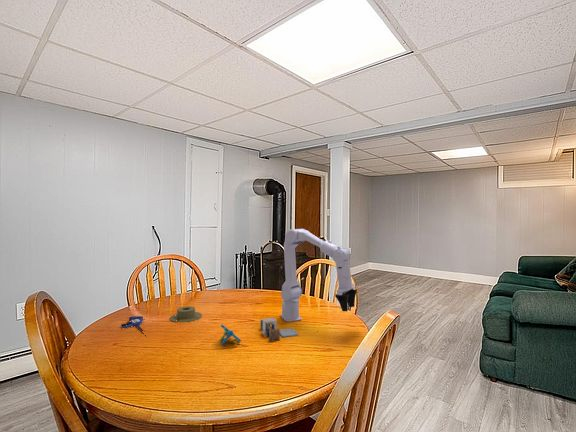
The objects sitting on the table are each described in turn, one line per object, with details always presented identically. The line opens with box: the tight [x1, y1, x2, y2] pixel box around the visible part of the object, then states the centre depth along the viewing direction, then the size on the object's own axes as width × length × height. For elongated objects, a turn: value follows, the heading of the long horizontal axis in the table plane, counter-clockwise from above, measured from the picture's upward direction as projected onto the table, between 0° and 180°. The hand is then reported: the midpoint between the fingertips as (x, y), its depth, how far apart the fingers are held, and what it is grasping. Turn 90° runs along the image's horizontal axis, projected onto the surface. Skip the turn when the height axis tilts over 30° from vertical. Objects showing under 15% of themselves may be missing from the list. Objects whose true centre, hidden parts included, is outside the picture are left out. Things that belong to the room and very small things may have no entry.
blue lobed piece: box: [220, 324, 242, 346], centre depth 119 cm, size 11×6×10 cm
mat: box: [279, 327, 299, 339], centre depth 129 cm, size 7×7×1 cm
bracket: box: [262, 317, 278, 338], centre depth 128 cm, size 4×5×6 cm
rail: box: [259, 319, 281, 342], centre depth 128 cm, size 14×4×4 cm, turn 21°
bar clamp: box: [120, 315, 144, 332], centre depth 131 cm, size 32×2×10 cm
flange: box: [169, 305, 203, 323], centre depth 149 cm, size 5×15×15 cm
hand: (348, 308), depth 129 cm, fingers open, 7 cm apart
